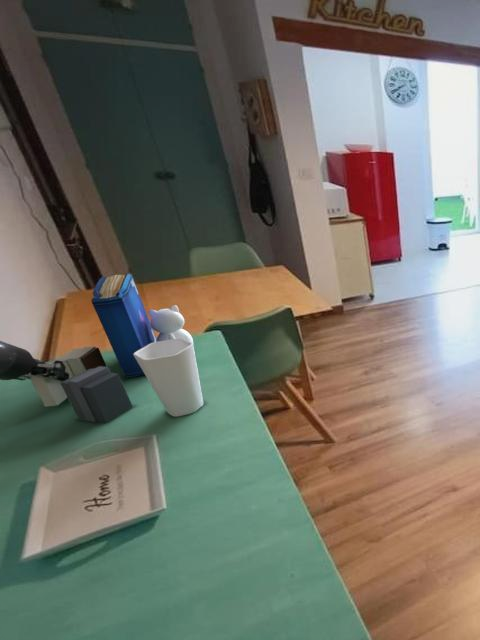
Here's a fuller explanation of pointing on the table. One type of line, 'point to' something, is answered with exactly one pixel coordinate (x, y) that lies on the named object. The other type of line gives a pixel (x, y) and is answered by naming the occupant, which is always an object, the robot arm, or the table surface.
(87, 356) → the grey brown block
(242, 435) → the table surface
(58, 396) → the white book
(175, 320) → the cat figurine
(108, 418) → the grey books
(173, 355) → the cup
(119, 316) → the book
